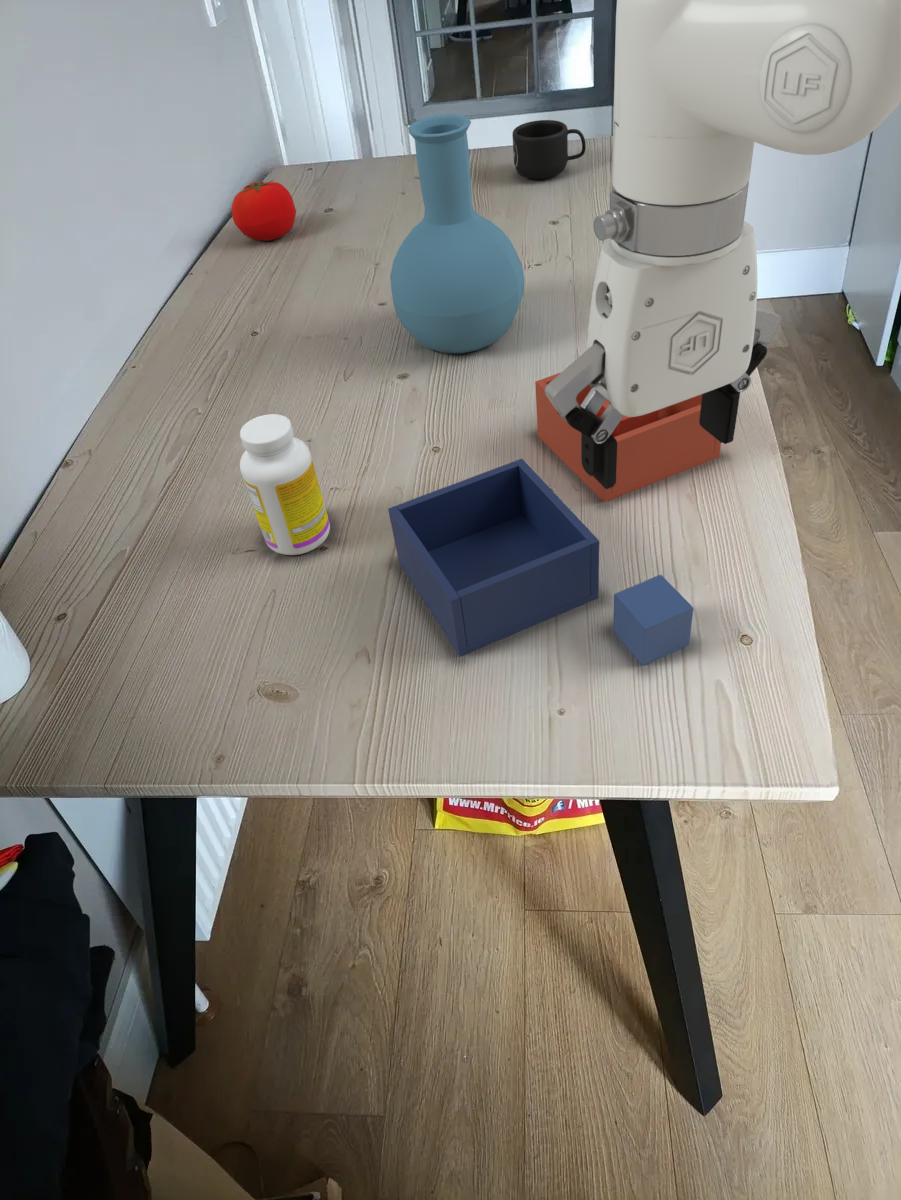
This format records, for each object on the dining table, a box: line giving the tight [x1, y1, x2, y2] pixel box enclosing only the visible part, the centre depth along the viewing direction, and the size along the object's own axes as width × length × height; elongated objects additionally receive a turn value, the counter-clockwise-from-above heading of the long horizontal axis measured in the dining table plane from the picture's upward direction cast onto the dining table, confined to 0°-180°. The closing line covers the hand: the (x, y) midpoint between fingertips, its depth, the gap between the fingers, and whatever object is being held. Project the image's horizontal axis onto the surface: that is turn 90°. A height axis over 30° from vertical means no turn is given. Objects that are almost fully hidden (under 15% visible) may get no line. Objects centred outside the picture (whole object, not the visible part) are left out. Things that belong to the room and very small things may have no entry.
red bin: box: [534, 372, 722, 503], centre depth 90 cm, size 14×14×7 cm
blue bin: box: [387, 458, 600, 657], centre depth 78 cm, size 14×14×7 cm
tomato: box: [231, 179, 297, 242], centre depth 140 cm, size 9×10×8 cm
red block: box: [596, 400, 659, 437], centre depth 90 cm, size 4×4×4 cm
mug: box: [512, 119, 587, 181], centre depth 146 cm, size 12×9×7 cm
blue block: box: [612, 574, 694, 667], centre depth 72 cm, size 4×4×4 cm
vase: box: [389, 113, 525, 355], centre depth 104 cm, size 16×16×25 cm
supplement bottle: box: [239, 413, 331, 556], centre depth 83 cm, size 7×7×13 cm
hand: (658, 455), depth 63 cm, fingers open, 9 cm apart
